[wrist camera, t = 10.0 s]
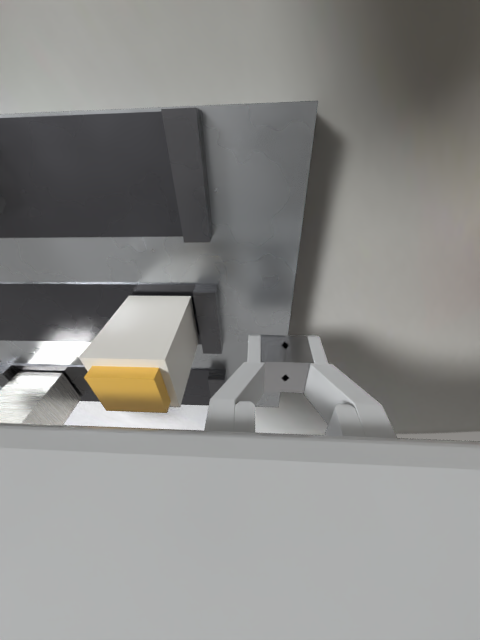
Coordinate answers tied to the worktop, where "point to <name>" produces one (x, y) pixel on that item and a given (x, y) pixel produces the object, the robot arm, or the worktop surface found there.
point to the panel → (145, 237)
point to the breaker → (143, 354)
